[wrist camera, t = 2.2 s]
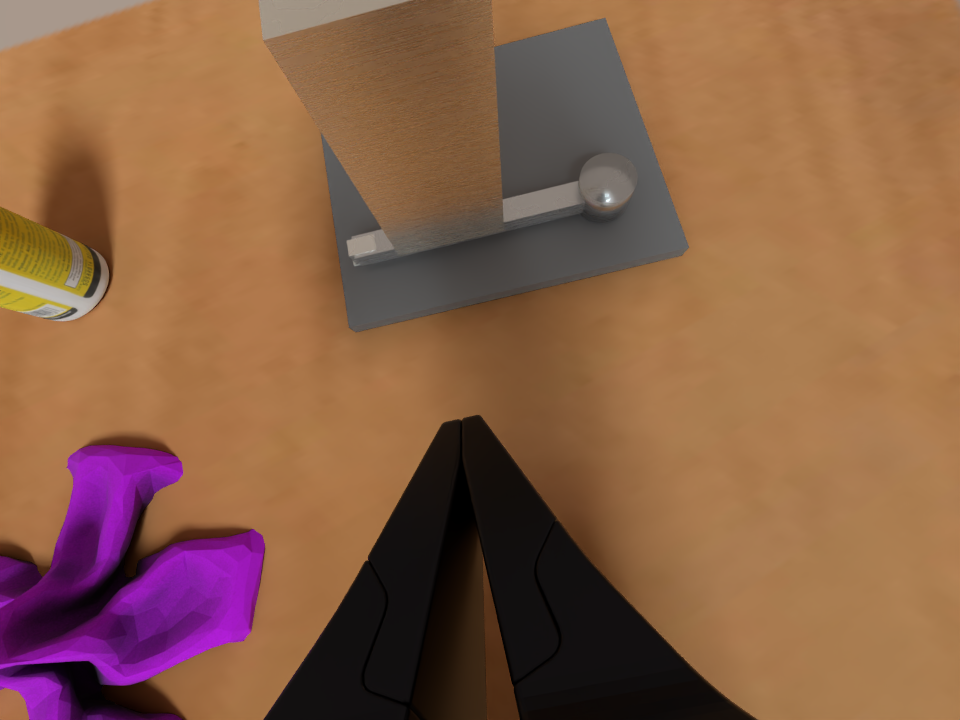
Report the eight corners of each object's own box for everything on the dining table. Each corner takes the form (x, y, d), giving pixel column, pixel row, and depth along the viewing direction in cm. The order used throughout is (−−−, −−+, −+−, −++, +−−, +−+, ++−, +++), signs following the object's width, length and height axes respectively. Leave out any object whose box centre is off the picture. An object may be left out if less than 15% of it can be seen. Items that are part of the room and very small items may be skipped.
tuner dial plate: (601, 31, 27) (605, 12, 26) (681, 255, 23) (690, 245, 22) (322, 104, 28) (313, 89, 26) (355, 332, 24) (347, 326, 23)
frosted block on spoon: (618, 171, 23) (752, -176, 10) (633, 216, 22) (796, -95, 9) (353, 237, 24) (158, -10, 11) (360, 281, 23) (161, 77, 10)
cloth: (-106, 635, 23) (-323, 703, 17) (108, 380, 25) (-18, 361, 19) (137, 947, 19) (-38, 1182, 13) (368, 610, 21) (310, 677, 15)
